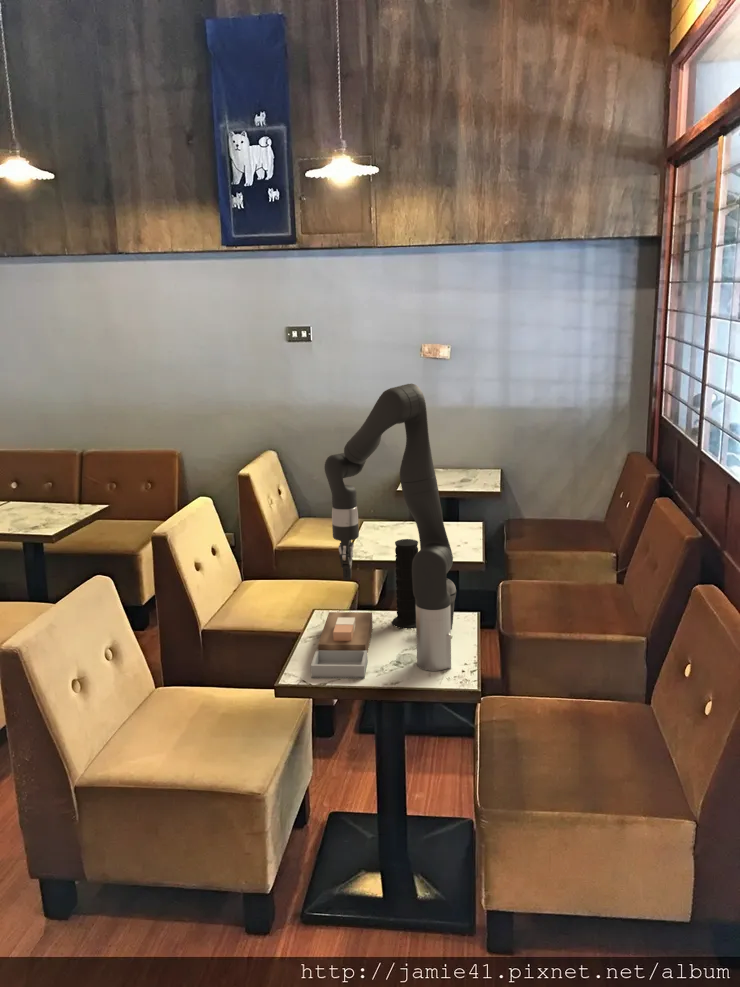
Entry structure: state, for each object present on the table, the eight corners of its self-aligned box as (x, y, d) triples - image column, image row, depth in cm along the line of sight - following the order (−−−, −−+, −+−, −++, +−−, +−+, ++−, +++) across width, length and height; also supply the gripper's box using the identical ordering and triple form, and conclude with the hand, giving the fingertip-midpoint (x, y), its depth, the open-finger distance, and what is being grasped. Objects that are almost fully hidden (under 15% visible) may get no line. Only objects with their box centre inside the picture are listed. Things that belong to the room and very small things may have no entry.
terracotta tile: (353, 633, 229) (353, 625, 229) (351, 640, 225) (351, 632, 224) (335, 633, 230) (335, 625, 229) (333, 640, 225) (333, 632, 224)
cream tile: (355, 625, 235) (355, 617, 234) (353, 632, 230) (353, 624, 229) (338, 625, 235) (337, 617, 235) (336, 632, 230) (335, 624, 230)
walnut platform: (372, 628, 245) (372, 612, 244) (365, 661, 223) (365, 644, 222) (329, 627, 246) (329, 612, 245) (318, 661, 224) (317, 644, 223)
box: (367, 662, 223) (367, 650, 222) (364, 678, 213) (364, 666, 212) (316, 661, 224) (316, 650, 223) (311, 677, 215) (310, 665, 214)
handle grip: (409, 613, 256) (385, 622, 249) (407, 532, 249) (382, 539, 243) (431, 622, 248) (407, 631, 242) (430, 538, 242) (405, 546, 236)
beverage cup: (429, 632, 241) (428, 567, 236) (435, 622, 248) (434, 559, 243) (454, 634, 239) (453, 569, 234) (458, 624, 246) (458, 561, 241)
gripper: (355, 528, 227) (358, 587, 231) (360, 515, 240) (362, 571, 244) (329, 528, 228) (331, 587, 232) (335, 515, 241) (337, 571, 245)
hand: (347, 579), depth 238 cm, fingers closed
